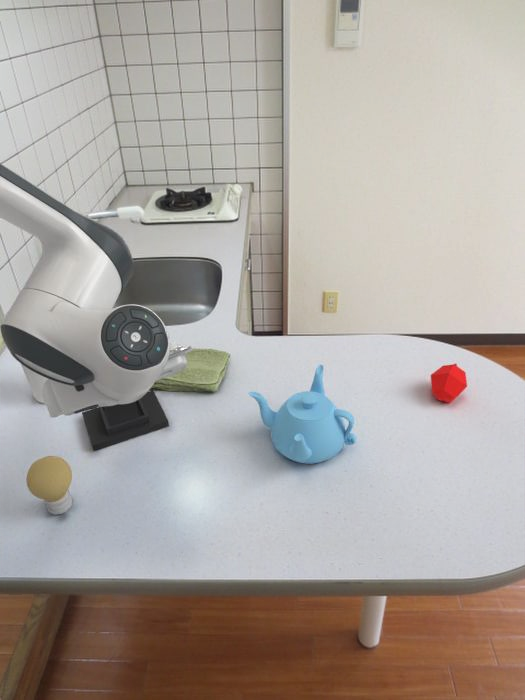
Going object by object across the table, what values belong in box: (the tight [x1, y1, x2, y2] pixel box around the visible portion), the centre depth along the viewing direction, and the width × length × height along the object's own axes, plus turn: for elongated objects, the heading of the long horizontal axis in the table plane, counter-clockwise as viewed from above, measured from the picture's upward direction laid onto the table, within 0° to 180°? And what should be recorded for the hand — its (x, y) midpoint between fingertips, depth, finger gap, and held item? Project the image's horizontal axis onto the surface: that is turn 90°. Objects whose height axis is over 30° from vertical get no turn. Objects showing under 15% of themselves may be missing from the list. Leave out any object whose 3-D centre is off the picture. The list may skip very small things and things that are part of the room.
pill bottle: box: [20, 363, 48, 405], centre depth 103 cm, size 8×8×15 cm
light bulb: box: [26, 455, 73, 516], centre depth 80 cm, size 6×6×10 cm
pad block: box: [104, 401, 139, 427], centre depth 81 cm, size 4×4×9 cm
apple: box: [430, 363, 468, 404], centre depth 101 cm, size 7×7×8 cm
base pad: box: [81, 390, 170, 452], centre depth 98 cm, size 14×10×3 cm
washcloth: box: [150, 347, 232, 393], centre depth 110 cm, size 13×18×3 cm
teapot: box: [248, 364, 357, 465], centre depth 90 cm, size 15×15×10 cm
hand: (114, 388), depth 81 cm, fingers closed on pad block, 4 cm apart
